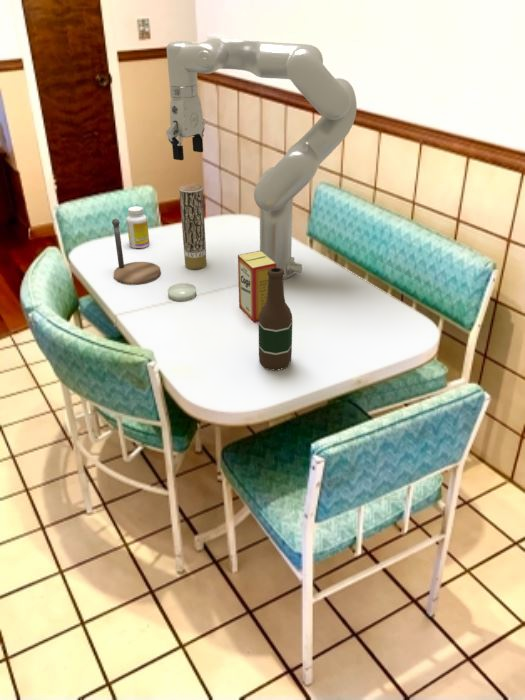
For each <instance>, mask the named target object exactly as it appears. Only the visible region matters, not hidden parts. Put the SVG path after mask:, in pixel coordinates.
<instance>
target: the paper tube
mask: <svg viewBox="0 0 525 700" xmlns="http://www.w3.org/2000/svg"><path fill="white" fill-rule="evenodd" d="M178 190H179V204H180V215H181V229H182V242H183V243H182V244H183V255H184V265H185V267H186V268H187V269H190V270H201V269H202V268H203V269H204V268H205V267H206V266H207V264H208V263H207V247H206V245H207V244H206V228H205V227H206V225H205V209H204V207H205V205H204V188H203V185H202V184H199V183H186V184H182V185H180V186H179V189H178Z"/></svg>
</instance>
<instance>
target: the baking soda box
mask: <svg viewBox="0 0 525 700" xmlns="http://www.w3.org/2000/svg"><path fill="white" fill-rule="evenodd" d="M275 267H276V263H275V262H274V261H272V260H271V259H270V258H269V257H267V256H266V255H265V254H264V253H263V252H261V251H260V250H258V251H252V252H251V251H250V252H247V253H246V252H245V253H241V254H238V255H237V271H238V273H237V274H238V275H237V276H238V279H237V280H238V305H239V306H238V308H239V309H240V310H241V311H242V312H243V313H244V314H245V315H246V317H248V319H249V320H251V321H252V323H259V314H260V312H261V309H262V308H263V306H264V305H265V304H266V300H267V292H268V278H269V276H268V275H267V273H268V270H269V269H270V268H275Z"/></svg>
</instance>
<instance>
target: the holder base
mask: <svg viewBox="0 0 525 700" xmlns="http://www.w3.org/2000/svg"><path fill="white" fill-rule="evenodd" d="M120 223H121V222H120V220H119V219H118V218H113V219H112V221H111V224H112V226H113V232H114V239H115V241H114V242H115V248H116V255H117V263H118V267H116V268H115V269H114V270H113V277H114V278H113V279H114V280H115V281H116V282H118V283H120V284H123V285H129V286H131V285H133V286H136V285H143V284H148V283H151V282H154V281H156V280H157V279H159V278H160V277H161V273H162V272H161V267H160V266H159V265H158V264H155V263H153V262H148V261H133V262H128V263H125V262H124V255H123V247H122V239H121V231H120Z"/></svg>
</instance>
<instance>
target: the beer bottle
mask: <svg viewBox="0 0 525 700" xmlns="http://www.w3.org/2000/svg"><path fill="white" fill-rule="evenodd" d="M267 275H268V276H269V278H268V292H267V300H266V304H265V305H264V306H263V308H262V309H261V312H260V314H259V321H258V362H259V363H260V364H261V365H262V367H263V368H264V369H266V368H268V369H267V370H271V369H274V370H273V371H279V370H278V369H280V370H282V369H281V368H284V369H286V368H285V367H287V368H288V366H289V365H290V363H291V361H292V357H293V356H292V354H293V353H292V351H293V349H292V348H293V314H292V311H291V308H290V307H289V305H287V303H286V300H285V287H284V279H283V275H284V270H282V269H281V268H277V267H275V268H270V269H269V270H268V273H267Z"/></svg>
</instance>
